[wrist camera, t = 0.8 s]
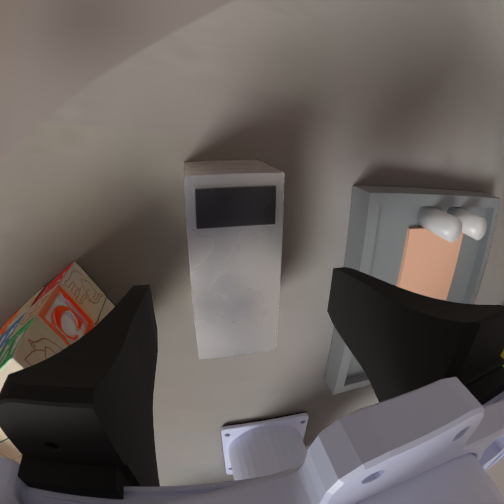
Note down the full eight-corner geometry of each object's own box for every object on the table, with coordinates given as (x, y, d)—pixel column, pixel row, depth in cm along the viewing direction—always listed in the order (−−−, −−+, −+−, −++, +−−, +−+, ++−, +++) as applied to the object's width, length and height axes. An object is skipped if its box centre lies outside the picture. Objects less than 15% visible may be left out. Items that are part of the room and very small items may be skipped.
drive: (255, 301, 21) (277, 352, 16) (193, 307, 20) (199, 362, 15) (257, 159, 17) (286, 173, 12) (183, 162, 16) (184, 177, 12)
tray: (442, 344, 28) (465, 368, 24) (324, 378, 25) (343, 414, 21) (483, 192, 21) (519, 206, 18) (352, 185, 19) (391, 202, 15)
